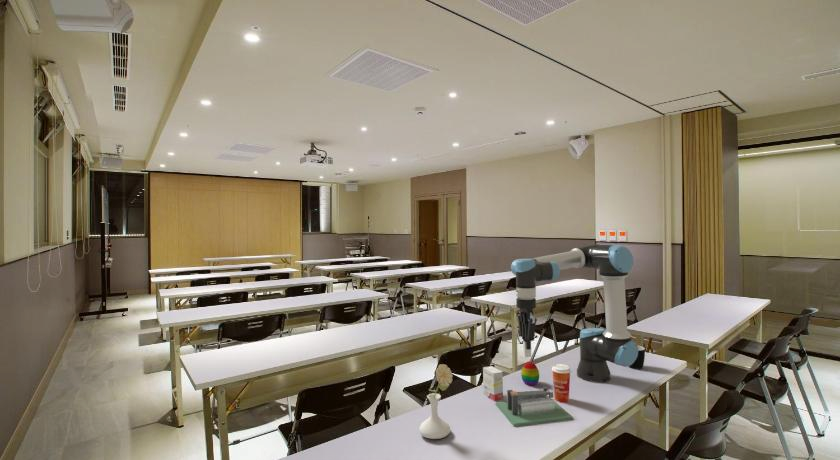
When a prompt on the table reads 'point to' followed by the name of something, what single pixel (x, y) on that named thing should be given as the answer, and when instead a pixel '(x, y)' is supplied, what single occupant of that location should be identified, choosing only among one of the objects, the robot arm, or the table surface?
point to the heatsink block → (536, 405)
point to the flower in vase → (434, 424)
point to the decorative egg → (530, 374)
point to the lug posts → (512, 402)
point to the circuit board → (519, 421)
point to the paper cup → (561, 382)
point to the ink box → (493, 383)
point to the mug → (639, 359)
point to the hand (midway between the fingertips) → (527, 356)
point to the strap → (530, 393)
